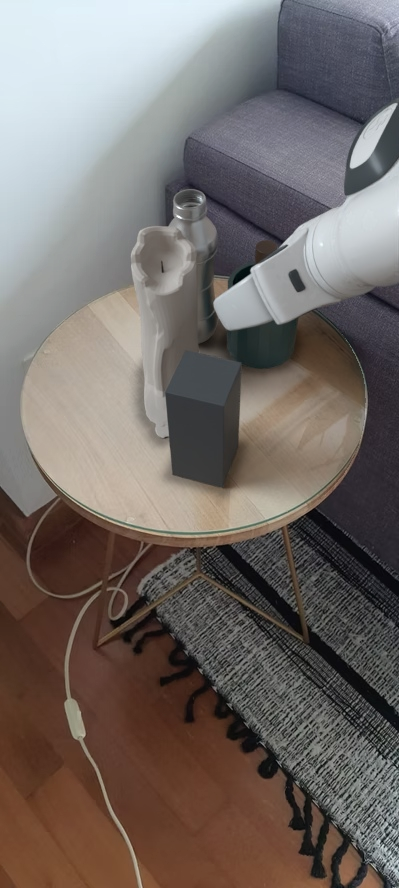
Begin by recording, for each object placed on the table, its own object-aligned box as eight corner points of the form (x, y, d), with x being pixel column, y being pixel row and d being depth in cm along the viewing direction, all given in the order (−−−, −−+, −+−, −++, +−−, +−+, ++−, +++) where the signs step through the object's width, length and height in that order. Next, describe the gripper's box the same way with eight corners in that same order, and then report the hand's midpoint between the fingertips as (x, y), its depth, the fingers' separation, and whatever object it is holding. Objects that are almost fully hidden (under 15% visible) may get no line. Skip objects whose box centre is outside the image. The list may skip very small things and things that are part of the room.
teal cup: (301, 329, 91) (309, 268, 84) (285, 375, 86) (292, 315, 78) (237, 315, 93) (239, 254, 85) (218, 360, 88) (218, 300, 80)
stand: (238, 447, 80) (241, 362, 69) (223, 488, 76) (224, 406, 65) (189, 435, 81) (185, 349, 70) (172, 475, 77) (164, 391, 66)
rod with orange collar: (258, 322, 90) (263, 231, 79) (282, 336, 89) (291, 245, 78) (238, 338, 89) (241, 247, 78) (262, 353, 87) (269, 262, 76)
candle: (143, 439, 81) (125, 308, 65) (144, 355, 89) (128, 221, 73) (204, 436, 81) (201, 305, 65) (200, 352, 89) (196, 218, 73)
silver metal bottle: (161, 343, 90) (149, 209, 74) (181, 310, 94) (174, 176, 78) (207, 356, 89) (205, 222, 73) (225, 322, 92) (227, 188, 77)
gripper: (385, 191, 74) (309, 228, 86) (244, 272, 66) (183, 300, 78) (409, 245, 75) (331, 274, 87) (273, 331, 67) (209, 349, 80)
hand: (260, 287), depth 83 cm, fingers closed on rod with orange collar, 2 cm apart
